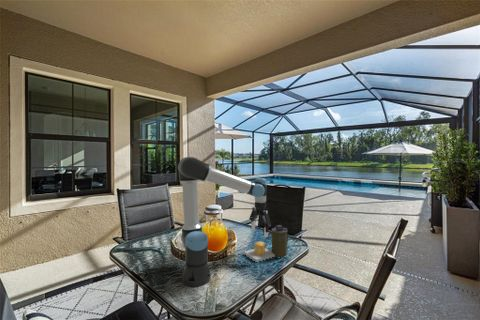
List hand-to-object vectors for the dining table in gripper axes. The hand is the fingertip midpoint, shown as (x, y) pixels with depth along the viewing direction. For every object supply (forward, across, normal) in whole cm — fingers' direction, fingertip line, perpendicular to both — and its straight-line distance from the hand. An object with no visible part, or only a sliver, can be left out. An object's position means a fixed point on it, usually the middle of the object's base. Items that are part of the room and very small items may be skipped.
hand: (259, 233), depth 146 cm
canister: (+15, -6, -13) cm, 21 cm away
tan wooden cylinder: (+12, 0, -1) cm, 13 cm away
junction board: (+14, 0, -1) cm, 15 cm away
